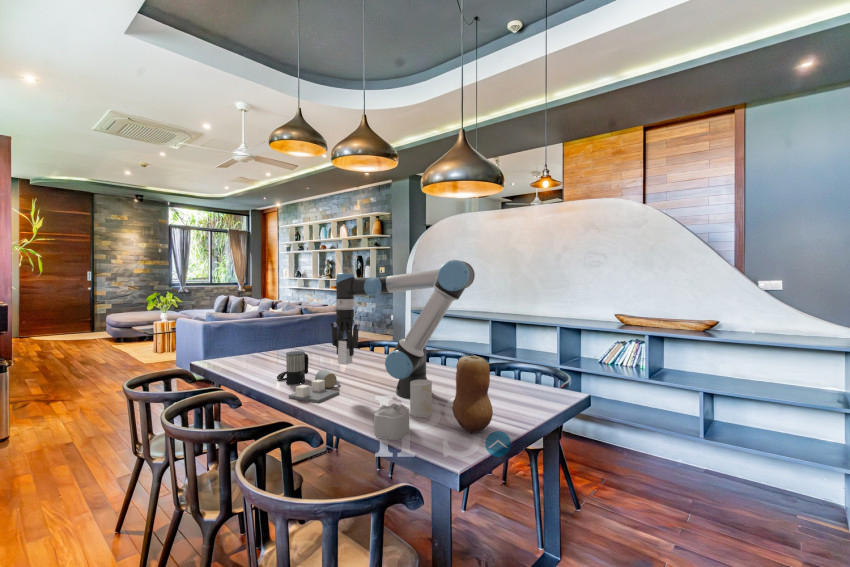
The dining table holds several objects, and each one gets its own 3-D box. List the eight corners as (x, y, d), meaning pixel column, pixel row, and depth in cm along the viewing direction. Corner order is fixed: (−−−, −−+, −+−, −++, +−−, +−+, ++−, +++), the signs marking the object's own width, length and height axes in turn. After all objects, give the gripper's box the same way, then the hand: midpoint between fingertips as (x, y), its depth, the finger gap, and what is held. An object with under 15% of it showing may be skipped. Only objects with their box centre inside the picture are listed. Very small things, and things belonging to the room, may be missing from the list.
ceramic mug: (324, 390, 190) (324, 373, 190) (314, 386, 195) (314, 370, 195) (343, 386, 197) (343, 370, 197) (333, 383, 203) (333, 367, 203)
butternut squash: (500, 432, 139) (501, 357, 138) (470, 441, 131) (470, 362, 130) (473, 420, 150) (473, 351, 150) (443, 428, 142) (443, 355, 142)
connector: (351, 362, 181) (351, 337, 180) (346, 364, 177) (346, 339, 177) (343, 362, 182) (343, 337, 182) (338, 363, 178) (338, 338, 178)
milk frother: (302, 385, 199) (301, 354, 198) (269, 385, 199) (269, 354, 199) (310, 377, 213) (310, 349, 212) (280, 377, 213) (279, 349, 213)
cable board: (339, 394, 184) (339, 382, 183) (318, 402, 171) (318, 390, 171) (310, 389, 190) (310, 378, 190) (288, 398, 178) (288, 385, 178)
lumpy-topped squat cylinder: (370, 436, 135) (370, 410, 135) (388, 423, 147) (388, 399, 147) (398, 441, 131) (398, 414, 131) (415, 427, 143) (415, 402, 143)
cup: (424, 418, 152) (424, 386, 152) (406, 414, 156) (406, 383, 156) (435, 412, 159) (435, 381, 159) (417, 408, 163) (417, 378, 163)
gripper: (323, 308, 179) (323, 362, 179) (357, 310, 172) (357, 366, 173) (333, 307, 186) (333, 359, 186) (366, 308, 179) (366, 362, 180)
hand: (345, 362), depth 179 cm, fingers closed on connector, 4 cm apart
